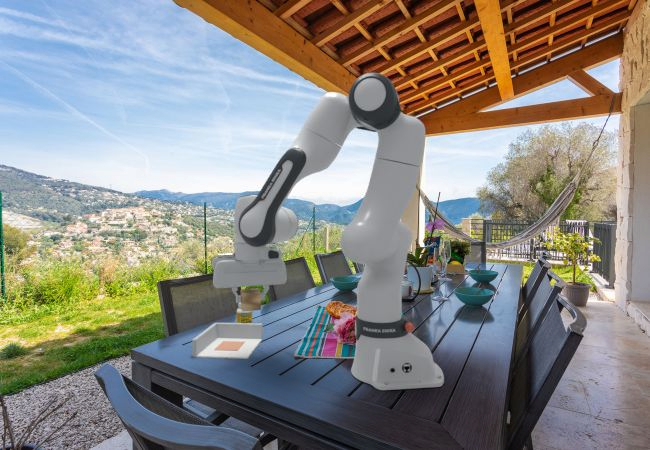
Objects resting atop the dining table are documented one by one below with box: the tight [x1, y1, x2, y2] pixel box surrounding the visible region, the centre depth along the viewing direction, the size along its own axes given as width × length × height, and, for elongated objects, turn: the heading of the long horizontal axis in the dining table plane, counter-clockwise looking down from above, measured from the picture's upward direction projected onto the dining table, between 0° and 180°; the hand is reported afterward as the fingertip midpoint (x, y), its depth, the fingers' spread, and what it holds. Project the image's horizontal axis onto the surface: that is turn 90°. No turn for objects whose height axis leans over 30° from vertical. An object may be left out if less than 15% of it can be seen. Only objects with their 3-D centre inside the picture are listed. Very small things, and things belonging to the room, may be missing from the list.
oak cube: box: [240, 287, 262, 312], centre depth 99 cm, size 5×5×5 cm
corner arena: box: [191, 322, 264, 360], centre depth 107 cm, size 16×16×5 cm
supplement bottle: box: [236, 303, 253, 323], centre depth 124 cm, size 5×5×10 cm
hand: (250, 301), depth 99 cm, fingers closed on oak cube, 5 cm apart
